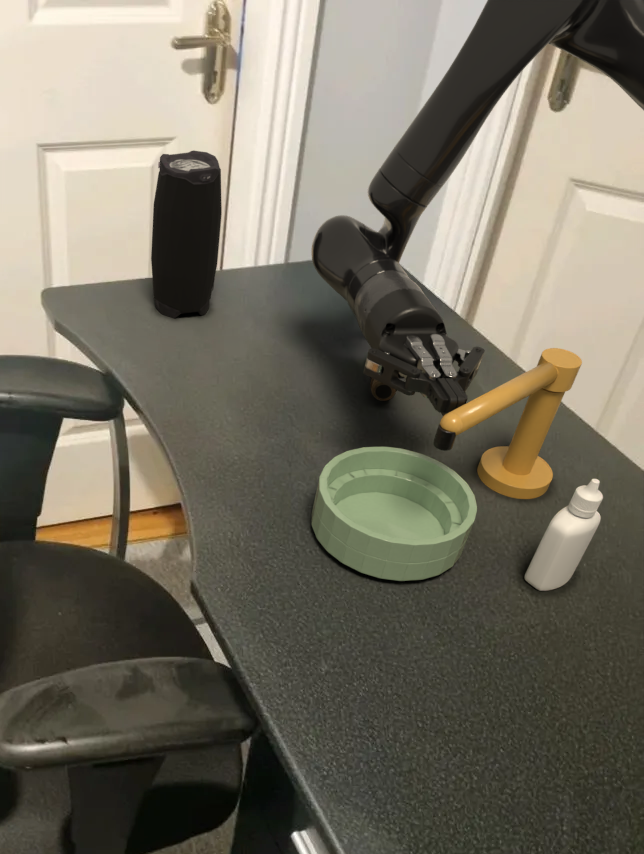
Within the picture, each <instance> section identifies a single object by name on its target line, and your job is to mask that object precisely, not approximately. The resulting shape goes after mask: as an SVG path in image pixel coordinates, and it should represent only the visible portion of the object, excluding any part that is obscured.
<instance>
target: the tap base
mask: <svg viewBox="0 0 644 854" xmlns="http://www.w3.org/2000/svg"><path fill="white" fill-rule="evenodd" d="M565 394H566V392H553V391H549V390H546V389H543V388H542V389H540V390H538V391H537V392H535V393H533V394H531V395H529V396H528V397H527V401H526V403H525V405H524V408H523V410H522V413H521V415H520V418H519V421H518V423H517V425H516V428H515V431H514V433H513V436H512V438H511V441H510V443H509V445H507V446H506V445H505V446H504V445H502V446H501V445H500V446H495V447H490V448H489V449H487V450H485V451H484V453H482V455H481V457H480V460H479V463H478V465H477V468H476V469H477V470H476V471H477V475H478V478H479V479H480V481H481V482H482V483H483V484H484V485H485V486H486V487H487V488H488V489H490V490H491V491H493V492H495V493H497V494H499V495H502V496H504V497H508V498H511V499H518V500H533V499H537V498H539V497H542V496H543V495H545V494H546V493H547V491H548V490H549V488H550V485H551V482H552V480H553V478H554V472H553V470H552V468H551V466H550V465H549V463H548V462H547V461H546V460H545V459H543V458H542V457H541V456H539V454H540V451H541V449H542V447H543V444H544V443H545V440H546V438H547V435H548V433H549V430H550V428H551V426H552V424H553V421H554V419H555V417H556V415H557V412H558V410H559V407H560V406H561V403H562V400H563V398H564V396H565Z"/></svg>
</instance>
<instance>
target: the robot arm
mask: <svg viewBox="0 0 644 854" xmlns="http://www.w3.org/2000/svg"><path fill="white" fill-rule="evenodd" d="M548 45H550V46H553V47H555V48H557V49H559V50H561V51H563V52H564V53H567V54H569V55H571V56H572V57H575V58H577V59H578V60H580V61H582V62H583V63H586V64H587V65H589V66H591V67H593V68H595V69H596V70H598V71H600V72H601V73H603V74H604V75H605V76H606V77H608V78H609V79H611V80H612V81H613V82H614V83H615V84H616V85H617V86H619V88H621V90H623V92H624V93H626V95H627V96H628V97H629V98H630V99H631V100H632V101H633V102H634V103H635V104H636V105H637V106H638V107H639V108H640V109H641V110H643V111H644V0H487V1H486V3H485V4H484V7H483V8H482V10H481V12H480V14H479V16H478V18H477V20H476V21H475V24H474V25H473V27H472V29H471V31H470V33H469V34H468V36H467V38H466V40H465V41H464V42H463V45H462V47H461V48H460V50H459V52H458V53H457V55H456V56H455V58H454V59H453V61H452V63H451V64H450V67H449V68H448V69H447V71H446V72H445V74H444V76H442V78H441V80H440V81H439V83H438V85H437V86H436V87H435V88H434V90H433V91H432V93H431V95H430V96H429V97H428V99H427V100H426V101H425V103H424V105H423V106H422V107H421V109H420V110H419V111H418V113H416V116H415V117H414V119H413V120H412V121H411V123H410V124H409V125H408V126H407V128H406V130H405V131H404V132H403V134H402V135H401V137H400V138H399V140H398V141H397V143H396V144H395V145H394V147H393V148H392V149H391V151H390V153H389V154H388V155H387V156H386V158H385V160H384V161H383V162H382V164H381V165H380V167H379V168H378V170H377V171H376V172H375V174H374V175H373V177H372V179H371V180H370V181H369V184H368V186H367V197H368V200H369V202H370V203H371V204H372V206H373V207H374V209H376V210H377V211H378V212H379V213H380V214H381V215H382V216H383V217H384V219H383V223H382V225H381V227H380V228H379V230H376V229H374V228H372V227H370V226H368V225H367V224H365V223H363V222H361V221H359V220H358V219H356V218H355V217H352V216H349V215H345V214H341V215H340V214H339V215H338V214H337V215H334V216H333V217H330V218H328V219H326V220H325V221H324V222H323V223H322V224H321V225H320V226H319V227H318V229H317V230H316V232H315V234H314V236H313V239H312V242H311V250H310V251H311V252H310V253H311V261H312V264H313V267H314V269H315V271H316V273H317V274H318V275H319V276H320V277H321V279H322V280H323V281H324V282H325V283H326V284H328V285H329V286H330V287H331V288H332V290H334V291H335V292H336V294H338V295H339V296H340V297H342V299H344V300H345V301H346V302H347V304H348V306H349V308H350V310H351V312H352V314H353V315H354V317H355V318H356V320H357V324H358V328H359V329H360V332H361V333H362V335H363V337H364V338H365V340H366V342H367V343H368V345H369V347H370V348H369V349H368V351H367V355H366V359H365V363H364V366H363V367H364V368H363V375H365V376H367V377H369V378H371V379H372V378H373V379H375V380H377V381H379V382H381V383H383V384H385V385H387V386H389V387H391V388H394V389H396V390H397V391H398V392H400V393H402V394H403V395H406V396H414V395H415V394H416V393H419V394H420V395H421V396H422V397H423V398H425V399H428V401H429V402H430V403H431V405H432V407H433V409H434V410H435V411H436V412H438V413H439V414H441V416H442V417H443V416H444V415H446V414H447V413H449V412H451V411H453V410H455V409H457V408H459V407H461V406H462V405H464V404H466V403H468V395H467V393H466V391H467V390H468V388H469V387H470V385H471V384H472V382H473V381H474V379H475V377H476V376H477V374H478V373H479V370H480V366H481V363H482V360H483V358H484V355H485V351H486V349H484V348H483V347H481V346H473V347H472V348H471V350H469V349H468V350H467V349H466V350H465V349H462V348H460V346H459V343H458V342H457V341H456V340H455V339H453V338H451V337H450V336H449V335H448V334H447V329H446V325H445V321H444V319H443V317H442V315H441V314H440V313H439V311H438V310H437V309H436V307H435V306H434V304H433V303H432V302H431V300H430V299H429V298H428V297H427V295H426V294H425V293H424V291H423V290H422V287H420V286H419V285H418V284H417V283H416V282H415V281H414V280H412V278H410V277H409V275H408V273H407V272H406V271H405V270H404V268H403V266H402V265H401V264H400V261H401V259H402V257H403V254H404V252H405V249H406V247H407V245H408V243H409V241H410V239H411V236H412V234H413V233H414V231H415V228H416V226H417V224H418V222H419V220H420V218H421V217H422V214H424V212H425V210H426V209H427V208H428V207H429V205H430V204H431V202H432V201H433V200H434V198H435V197H436V196H437V195H438V194H439V192H440V191H441V189H443V187H444V186H445V185H446V183H447V181H448V179H450V177H451V176H452V175H453V174H454V172H455V170H456V169H457V167H458V166H459V164H460V163H461V161H462V160H463V158H465V157H464V156H465V155H466V154H467V152H468V151H469V149H470V147H471V145H472V144H473V142H474V141H475V139H476V137H477V135H478V134H479V132H480V131H481V129H482V127H483V126H484V124H485V122H486V121H487V119H488V117H489V115H491V113H492V111H493V110H494V108H495V107H496V106H497V104H498V103H499V101H500V99H502V98H503V95H504V94H505V93H506V91H507V90H508V88H509V87H511V85H512V84H513V83H514V81H515V80H516V79H517V77H518V76H519V75H520V74H521V73H522V72H523V71H524V69H525V68H526V67H527V66H529V64H530V63H531V62H532V61H533V60H534V59H535V58H536V57H537V56H538V55H539V53H541V52H542V51H543V50H544V48H545V47H547V46H548ZM454 362H457V367H458V368H459V369H458V371H456V369H455V367H454V365H453V364H454ZM398 373H399V374H398ZM399 376H400V377H403V378H404V379H405V380H402V379H400V378H399Z"/></svg>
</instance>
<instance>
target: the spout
mask: <svg viewBox="0 0 644 854" xmlns="http://www.w3.org/2000/svg"><path fill="white" fill-rule="evenodd" d="M582 360H583V359H582V358H581V357H580V356H579V355H578V354H576V353H575V352H572V351H570V350H568V349H564V348H558V347H550V348H546V349H544V350H543V351H542V352H541V354H540V357H539V359H538V362H537V364H536V366H534V367H533V368H531V369H529V370H527V371H525V372H523V373H521V374H519V375H518V376H516V377H514V378H512V379H510V380H508V381H506V382H504V383H503V384H501V385H499V386H496V387H495V388H493V389H491V390H489V391H487V392H486V393H483V394H482V395H480V396H478V397H476V398H474V399H472V400H469V402H468V401H467V402H466V404H464V405H462V406H461V407H459V408H457V409H455V410H453V411H451V412H449V413H447V414H446V415H444V416H443V415H442V418H441V419H440V422H439V424H438V426H437V429H436V433H435V435H434V438H433V442H432V445H433V446H434V448H435V449H437V450H439V451H444V452H446V451H450V450H452V449H453V446H454V444H455V441H456V438H457V436H458V435H460V434H462V433H464V432H466V431H468V430H469V429H471V428H473V427H475V426H477V425H479V424H480V423H482V422H484V421H486V420H488V419H489V418H491V417H493V416H495V415H496V414H499V413H500V412H502V411H504V410H506V409H508V408H509V407H511V406H514V405H515V404H517V403H518V402H521V401H522V400H524V399H526V398H529V395H531V394H533V393H535V392H537V391H538V390H540V389H542V388H543V389H546V390H549V391H553V392H565V393H566V392H568V391H571V389H572V388H573V385H574V383H575V380H576V378H577V376H578V373H579V372H580V369H581V367H582V364H583V361H582Z"/></svg>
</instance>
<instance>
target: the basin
mask: <svg viewBox="0 0 644 854" xmlns="http://www.w3.org/2000/svg"><path fill="white" fill-rule="evenodd" d="M316 486H317V487H316V492H315V496H314V501H313V506H312V511H311V527H312V530H313V532H314V534H315V538H316V540H317V541H318V542H319V544H321V546H322V547H323V549H324V550H325V551H326V552H327V553H328V554H329V555H331V556H332V557H333V558H335V559H336V560H338V561H339V562H340V563H342V564H343V565H345V566H347V567H349V568H351V569H353V570H355V571H356V572H359V573H361V574H365V575H366V576H367V575H368V576H371V577H374V578H377V579H382V580H389V581H397V582H405V581H421V580H426V579H429V578H434V577H437V576H439V575H442V574H443V573H444V572H446V571H447V570H449V569H451V568H453V567H454V566H455V565H456V564H457V562H458V561H459V559H460V557H461V556H462V553H463V551H464V549H465V546H466V543H467V541H468V538H469V536H470V533H471V531H472V528H473V526H474V523H475V520H476V516H477V513H478V504H477V501H476V495H475V493H474V492H473V490H472V489H471V487H470V485H469V484H468V483H467V481H466V480H465V479H463V477H461V475H460V474H458V472H457V471H455V470H454V469H452V468H451V467H449V466H448V465H446V464H444V463H443V462H441V461H440V460H437V459H435V458H432V457H430V456H428V455H426V454H423V453H420V452H416V451H412V450H409V449H404V448H402V447H401V448H400V447H392V446H365V447H364V446H363V447H359V448H354V449H350V450H346V451H345V452H342V453H340V454H338V455H336V456H334V457H333V458H332V459H330V460H329V462H327V463H326V465H324V467H323V468H322V471H321V473H320V475H319V476H318V482H317V485H316Z"/></svg>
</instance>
